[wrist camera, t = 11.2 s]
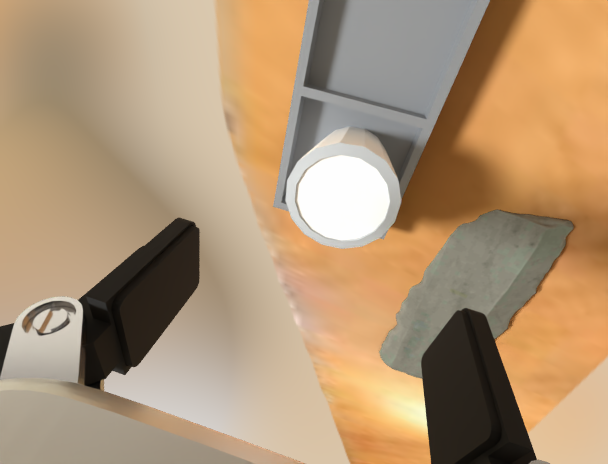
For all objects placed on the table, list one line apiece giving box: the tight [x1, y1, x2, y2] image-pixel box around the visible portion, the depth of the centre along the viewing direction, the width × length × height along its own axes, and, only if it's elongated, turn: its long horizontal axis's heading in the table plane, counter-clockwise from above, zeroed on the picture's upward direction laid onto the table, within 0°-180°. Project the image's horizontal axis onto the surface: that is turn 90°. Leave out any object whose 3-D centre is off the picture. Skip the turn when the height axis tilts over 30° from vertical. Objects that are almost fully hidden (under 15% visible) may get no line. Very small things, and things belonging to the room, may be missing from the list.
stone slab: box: [379, 210, 574, 379], centre depth 30 cm, size 22×3×10 cm
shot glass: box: [286, 126, 401, 249], centre depth 21 cm, size 7×7×7 cm
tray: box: [273, 0, 490, 239], centre depth 21 cm, size 10×19×2 cm, turn 168°
